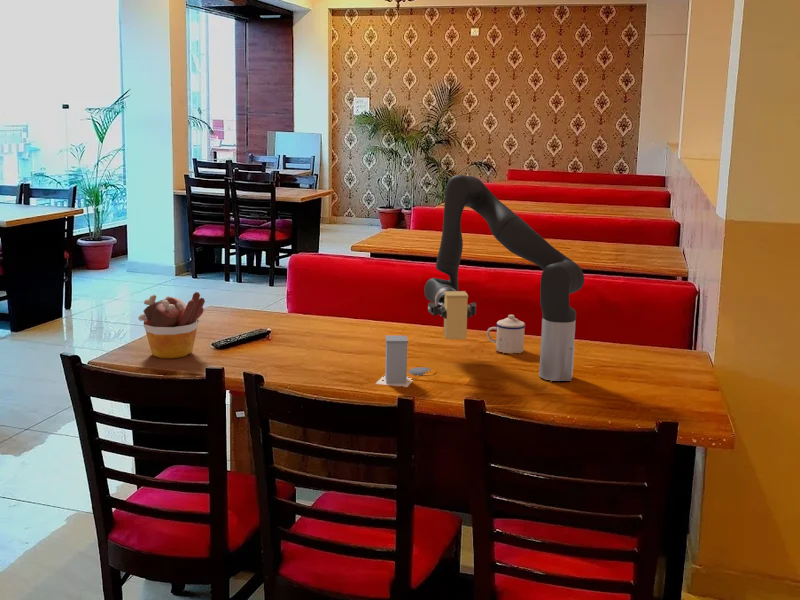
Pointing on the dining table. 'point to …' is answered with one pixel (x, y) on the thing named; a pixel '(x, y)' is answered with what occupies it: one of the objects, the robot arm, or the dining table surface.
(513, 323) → the teacup with lid
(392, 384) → the cream tile
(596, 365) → the dining table surface
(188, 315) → the bucket of meat
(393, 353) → the slate tea tin
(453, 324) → the ochre tea tin
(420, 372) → the felt coaster
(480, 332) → the dining table surface
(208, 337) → the dining table surface
